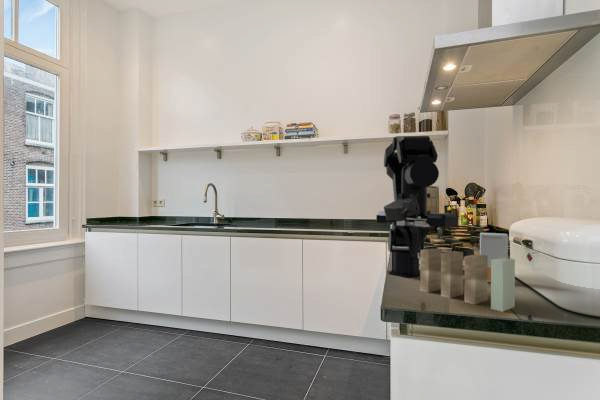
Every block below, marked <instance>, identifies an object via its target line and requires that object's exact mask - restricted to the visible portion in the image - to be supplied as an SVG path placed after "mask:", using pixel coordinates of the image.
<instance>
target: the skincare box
mask: <svg viewBox="0 0 600 400" xmlns="http://www.w3.org/2000/svg"><path fill="white" fill-rule="evenodd" d="M479 255H487V256H488V267H487V283H491V260H494V259H499V258H509V235H508V234H507V233H500V232H499V233H498V232H497V233H496V232H480V233H479Z"/></svg>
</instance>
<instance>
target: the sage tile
mask: <svg viewBox="0 0 600 400" xmlns="http://www.w3.org/2000/svg"><path fill="white" fill-rule="evenodd" d="M515 270H516V258H509V257H508V258H499V259H494V260H491V282H490V309H491V310H494V311H498V312H502V313H503V312H506V311H508V310H510V309H513V308H515V307H516V305H515V304H516V302H515V301H516V300H515V299H516V291H515V290H516V289H515V287H516V286H515V285H516V282H515V281H516V280H515V278H516V274H515V273H516V271H515Z"/></svg>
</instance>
